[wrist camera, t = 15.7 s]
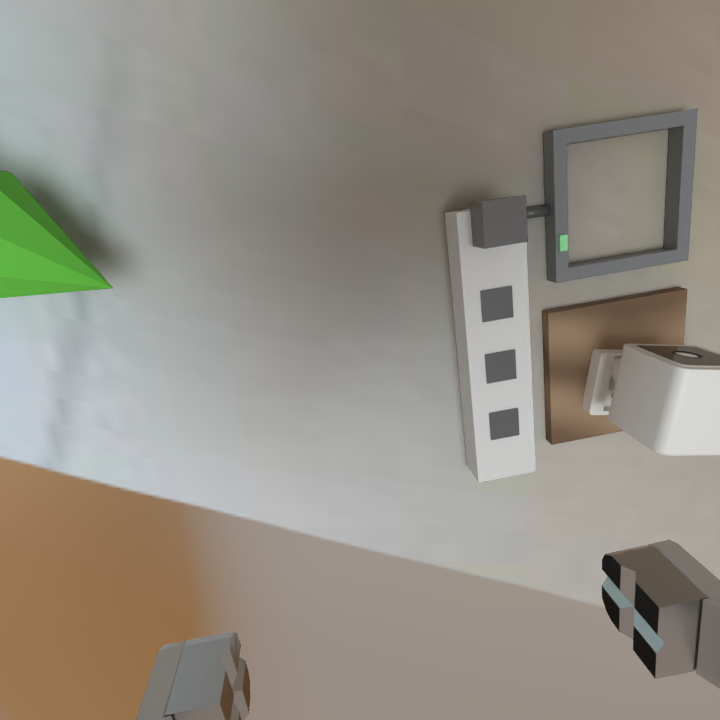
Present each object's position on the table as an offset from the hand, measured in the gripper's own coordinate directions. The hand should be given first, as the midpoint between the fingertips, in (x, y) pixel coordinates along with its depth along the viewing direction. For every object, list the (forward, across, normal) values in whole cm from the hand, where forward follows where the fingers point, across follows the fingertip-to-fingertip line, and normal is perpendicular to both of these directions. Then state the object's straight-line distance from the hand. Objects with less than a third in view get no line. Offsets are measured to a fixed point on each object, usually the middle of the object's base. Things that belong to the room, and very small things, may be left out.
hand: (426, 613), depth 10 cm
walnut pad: (+29, -23, +8) cm, 38 cm away
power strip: (+29, -14, +4) cm, 32 cm away
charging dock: (+29, -23, -6) cm, 38 cm away
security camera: (+28, -23, +8) cm, 37 cm away
